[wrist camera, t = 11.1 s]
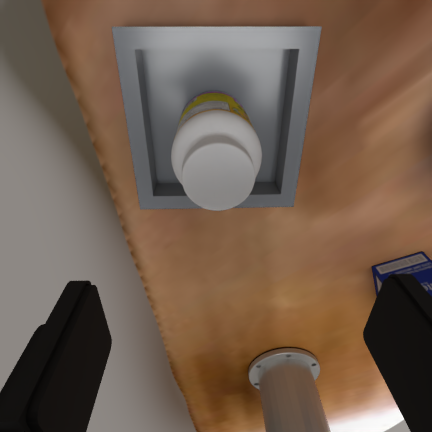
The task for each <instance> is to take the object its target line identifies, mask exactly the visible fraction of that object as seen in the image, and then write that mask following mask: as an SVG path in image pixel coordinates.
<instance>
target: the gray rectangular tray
mask: <svg viewBox="0 0 432 432" xmlns="http://www.w3.org/2000/svg"><path fill="white" fill-rule="evenodd" d="M112 32H113V38H114V45H115V51H116V57H117V64H118V70H119V77H120V83H121V89H122V96H123V102H124V108H125V115H126V121H127V128H128V134H129V140H130V147H131V153H132V160H133V166H134V172H135V179H136V185H137V192H138V198H139V204H140V209H190V208H202V207H200V206H198V205H197V204H195V203H194V202H193V201H192V200H191V199H190V198H189V197H188V196H187V194H186V193H185V191H184V188H183V185H182V184H181V183H180V182H179V180H178V179H177V177H176V175H175V173H174V170H173V167H172V161H171V151H172V145H173V142H174V138H175V135H176V132H177V129H178V125H179V122H180V118H181V115H182V113H183V111H184V109H185V107H186V105H187V104H188V103H189V102H190V101H191V100H192V99H193V98H194V97H196V96H197V95H199V94H201V93H204V92H209V91H220V92H224V93H227V94H229V95H231V96H233V97H234V98H235V99H236V100H237V101H238V102H239V103H240V104H241V105H242V107H243V108H244V110H245V111H246V113H247V116H248V117H249V120H250V122H251V124H252V126H253V128H254V130H255V132H256V134H257V136H258V139H259V141H260V145H261V150H262V160H261V166H260V169H259V172H258V174H257V176H256V178H255V183H254V186H253V189H252V191H251V193H250V194H249V196H248V197H247V198H246V199H245V200H244V201H243V202H242V203H240V204H239V205H237V206H235V207H233V208H250V207H294V200H295V194H296V187H297V181H298V175H299V168H300V162H301V155H302V149H303V143H304V136H305V130H306V123H307V117H308V111H309V104H310V98H311V91H312V85H313V79H314V72H315V66H316V59H317V53H318V47H319V40H320V34H321V27H112Z"/></svg>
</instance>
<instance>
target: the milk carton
mask: <svg viewBox="0 0 432 432" xmlns="http://www.w3.org/2000/svg"><path fill="white" fill-rule="evenodd" d="M372 271H373V277H374V283H375V289H376V295H378V293H379V290H380V288H381V285H382V283H383V281H384V279H387V278H388V276H389V275H390V274H412V275H413V276H414V277H415V278H416V279H417V280H418V281H419V282H420V284H421V285H422V286H423V287H424V288H425V290H426V291H427V292H428V293H429V294H430V295H431V297H432V261H431V260H430V259H429V258H428V257H427V256H426V255H425V254H424V252H419V253H416V254H412V255H409V256H406V257H402V258H399V259H396V260H392V261H389V262H386V263H382V264H379V265H376V266H372Z"/></svg>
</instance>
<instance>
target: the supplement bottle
mask: <svg viewBox="0 0 432 432" xmlns="http://www.w3.org/2000/svg"><path fill="white" fill-rule="evenodd" d="M261 160H262V150H261V145H260V141H259V139H258V136H257V134H256V132H255V130H254V128H253V126H252V124H251V122H250V120H249V117H248V116H247V113H246V111H245V110H244V108H243V107H242V105H241V104H240V103H239V102H238V101H237V100H236V99H235V98H234V97H233V96H231V95H229V94H227V93H224V92H220V91H209V92H204V93H201V94H199V95H197V96H196V97H194V98H193V99H192V100H191V101H190V102H189V103H188V104H187V105H186V107H185V109H184V111H183V113H182V115H181V118H180V122H179V125H178V129H177V132H176V135H175V138H174V142H173V145H172V151H171V161H172V167H173V170H174V173H175V175H176V177H177V179H178V180H179V182H180V183H181V184H182V185H183V188H184V191H185V193H186V194H187V196H188V197H189V198H190V199H191V200H192V201H193V202H194V203H195V204H197V205H198V206H200V207H202V208H204V209H208V210H214V211H222V210H227V209H231V208H233V207H235V206H237V205H239V204H240V203H242V202H243V201H244V200H245V199H246V198H247V197H248V196H249V194H250V193H251V191H252V189H253V186H254V183H255V178H256V176H257V174H258V172H259V169H260V166H261Z"/></svg>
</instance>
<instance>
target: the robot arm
mask: <svg viewBox="0 0 432 432" xmlns="http://www.w3.org/2000/svg"><path fill="white" fill-rule="evenodd" d="M363 337H364V341H365V343H366V345H367V347H368V349H369V351H370V353H371V355H372V357H373V359H374V361H375V363H376V365H377V367H378V369H379V371H380V373H381V374H382V376H383V378H384V380H385V382H386V384H387V386H388V388H389V390H390V392H391V394H392V396H393V398H394V400H395V402H396V404H397V406H398V408H399V410H400V412H401V414H402V415H403V417H404V419H405V421H406V423H407V425H408V427H409V429H410V431H411V432H432V297H431V295H430V294H429V293H428V292H427V291H426V290H425V288H424V287H423V286H422V285H421V284H420V282H419V281H418V280H417V279H416V278H415V277H414V276H413V275H412V274H390V275H389V276H388V278H387V279H384V281H383V283H382V285H381V288H380V290H379V293H378V295H377V298H376V301H375V303H374V306H373V308H372V311H371V313H370V316H369V318H368V321H367V323H366V326H365V328H364V331H363ZM111 344H112V339H111V335H110V331H109V328H108V325H107V321H106V318H105V314H104V311H103V308H102V304H101V300H100V297H99V294H98V290H97V287H96V286H95V285H91V282H90V281H70V282H69V283H68V284H67V285H66V287H65V289H64V290H63V292H62V294H61V296H60V298H59V300H58V301H57V303H56V305H55V307H54V309H53V310H52V312H51V314H50V316H49V318H48V320H47V321H46V324H43V325H41V326H39V327H38V328H37V330H36V331H35V332H34V334H33V336H32V337H31V339H30V341H29V343H28V345H27V346H26V348H25V350H24V352H23V353H22V355H21V357H20V359H19V360H18V362H17V364H16V366H15V367H14V369H13V371H12V373H11V375H10V376H9V378H8V380H7V382H6V383H5V385H4V387H3V389H2V390H1V392H0V432H86V430H87V426H88V423H89V420H90V417H91V413H92V410H93V407H94V403H95V400H96V397H97V393H98V390H99V386H100V383H101V380H102V376H103V373H104V370H105V366H106V363H107V359H108V357H109V353H110V350H111ZM319 373H320V366H319V363H318V360H317V359H316V357H315V356H314V355H312V354H311V353H309V352H307V351H305V350H301V349H296V348H283V349H276V350H272V351H269V352H267V353H264V354H262V355H260V356H259V357H258V358H256V359H255V360H254V361H253V362H252V363H251V365H250V367H249V370H248V374H249V380H250V382H251V384H252V385H253V386H254V387H255V388H257V389H259V390H260V396H261V403H262V409H263V416H264V423H265V429H266V432H331V431H330V428H329V425H328V422H327V419H326V415H325V412H324V409H323V406H322V403H321V400H320V396H319V393H318V390H317V387H316V384H315V380H316V379H317V377H318V375H319Z"/></svg>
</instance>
